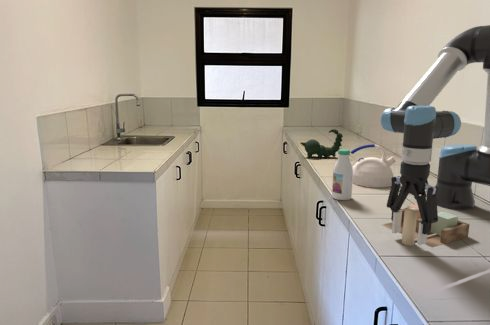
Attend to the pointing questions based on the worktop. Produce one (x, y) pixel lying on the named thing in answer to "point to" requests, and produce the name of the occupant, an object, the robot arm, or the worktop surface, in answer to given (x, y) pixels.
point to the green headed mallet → (443, 222)
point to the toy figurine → (315, 148)
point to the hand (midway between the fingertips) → (408, 237)
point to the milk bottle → (342, 176)
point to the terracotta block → (417, 209)
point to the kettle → (373, 170)
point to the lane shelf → (446, 234)
